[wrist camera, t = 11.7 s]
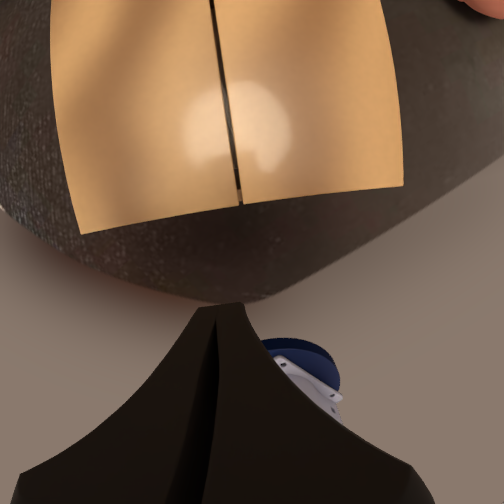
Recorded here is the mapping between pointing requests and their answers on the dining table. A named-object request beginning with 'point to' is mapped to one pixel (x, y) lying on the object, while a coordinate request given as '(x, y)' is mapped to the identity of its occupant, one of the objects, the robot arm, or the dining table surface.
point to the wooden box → (141, 110)
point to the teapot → (487, 7)
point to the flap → (310, 96)
